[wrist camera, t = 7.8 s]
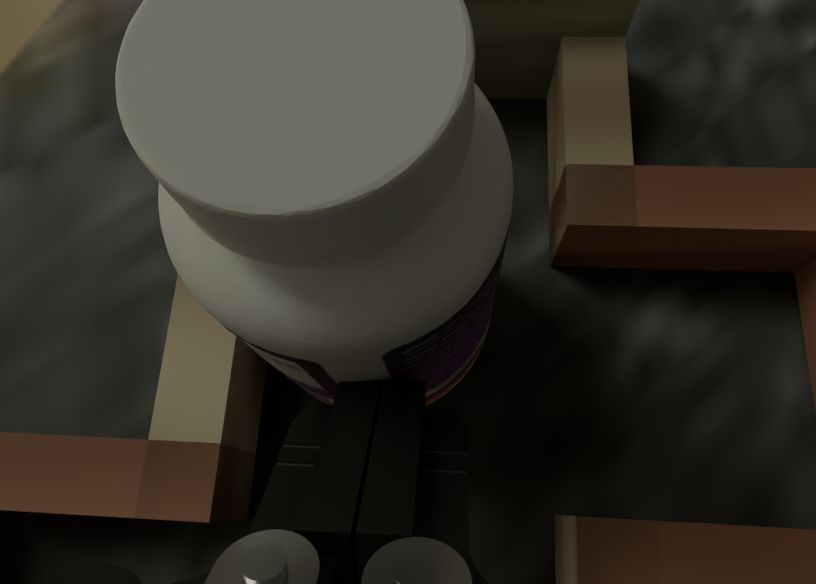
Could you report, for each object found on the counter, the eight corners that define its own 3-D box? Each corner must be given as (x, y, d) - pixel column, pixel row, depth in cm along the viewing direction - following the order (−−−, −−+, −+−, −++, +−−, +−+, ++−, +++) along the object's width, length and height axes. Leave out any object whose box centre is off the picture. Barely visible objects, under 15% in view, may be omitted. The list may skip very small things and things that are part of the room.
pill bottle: (470, 202, 17) (498, -163, 8) (505, 403, 15) (597, 243, 6) (269, 230, 17) (59, -98, 8) (281, 434, 15) (27, 322, 6)
